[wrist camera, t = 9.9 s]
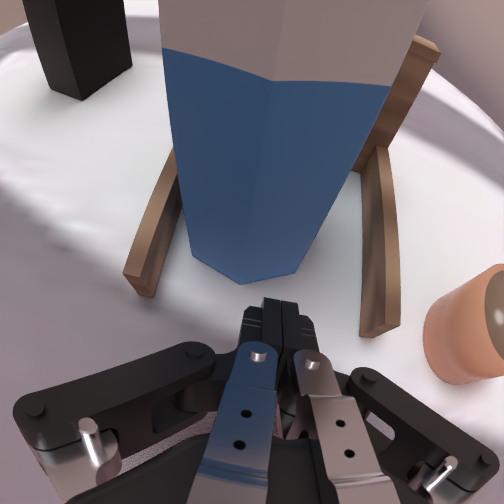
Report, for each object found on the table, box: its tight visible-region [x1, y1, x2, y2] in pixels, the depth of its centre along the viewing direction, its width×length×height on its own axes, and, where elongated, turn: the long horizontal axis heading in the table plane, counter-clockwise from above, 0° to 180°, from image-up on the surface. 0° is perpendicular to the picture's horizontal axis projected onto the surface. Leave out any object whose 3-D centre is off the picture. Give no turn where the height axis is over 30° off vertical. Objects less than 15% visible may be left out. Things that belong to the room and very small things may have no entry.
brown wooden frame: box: [123, 35, 441, 338], centre depth 16 cm, size 15×15×13 cm
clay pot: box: [423, 264, 504, 385], centre depth 16 cm, size 7×7×6 cm
